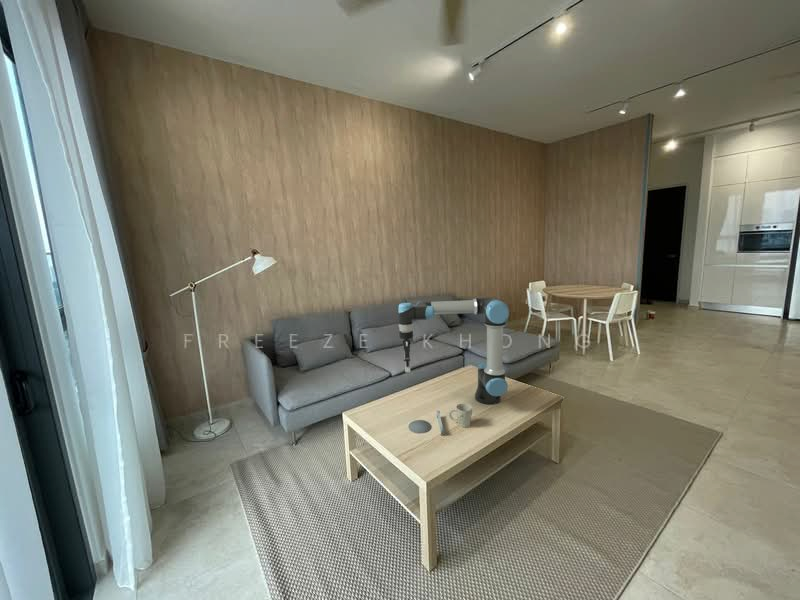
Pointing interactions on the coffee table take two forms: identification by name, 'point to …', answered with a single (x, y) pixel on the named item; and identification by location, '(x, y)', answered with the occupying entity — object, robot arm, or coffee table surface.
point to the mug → (463, 414)
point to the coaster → (419, 426)
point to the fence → (440, 423)
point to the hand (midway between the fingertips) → (407, 367)
